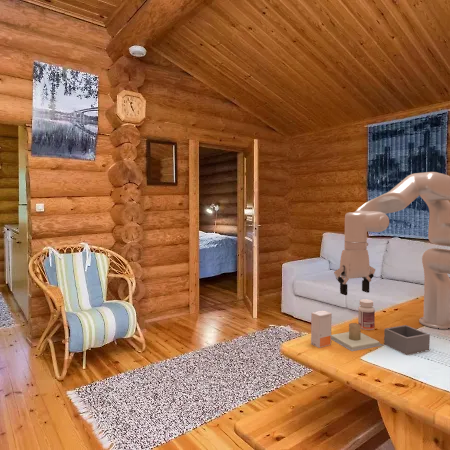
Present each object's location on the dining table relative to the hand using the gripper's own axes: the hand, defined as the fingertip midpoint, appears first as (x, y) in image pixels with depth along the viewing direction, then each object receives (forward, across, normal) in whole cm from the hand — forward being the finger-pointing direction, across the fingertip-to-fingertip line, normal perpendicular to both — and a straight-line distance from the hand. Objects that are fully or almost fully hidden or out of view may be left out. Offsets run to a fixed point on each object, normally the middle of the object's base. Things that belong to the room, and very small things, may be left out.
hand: (354, 293), depth 131 cm
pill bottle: (+18, -14, -10) cm, 25 cm away
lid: (+18, 0, 0) cm, 18 cm away
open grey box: (+18, -13, +11) cm, 25 cm away
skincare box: (+19, +13, -2) cm, 23 cm away
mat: (+18, 0, 0) cm, 18 cm away
